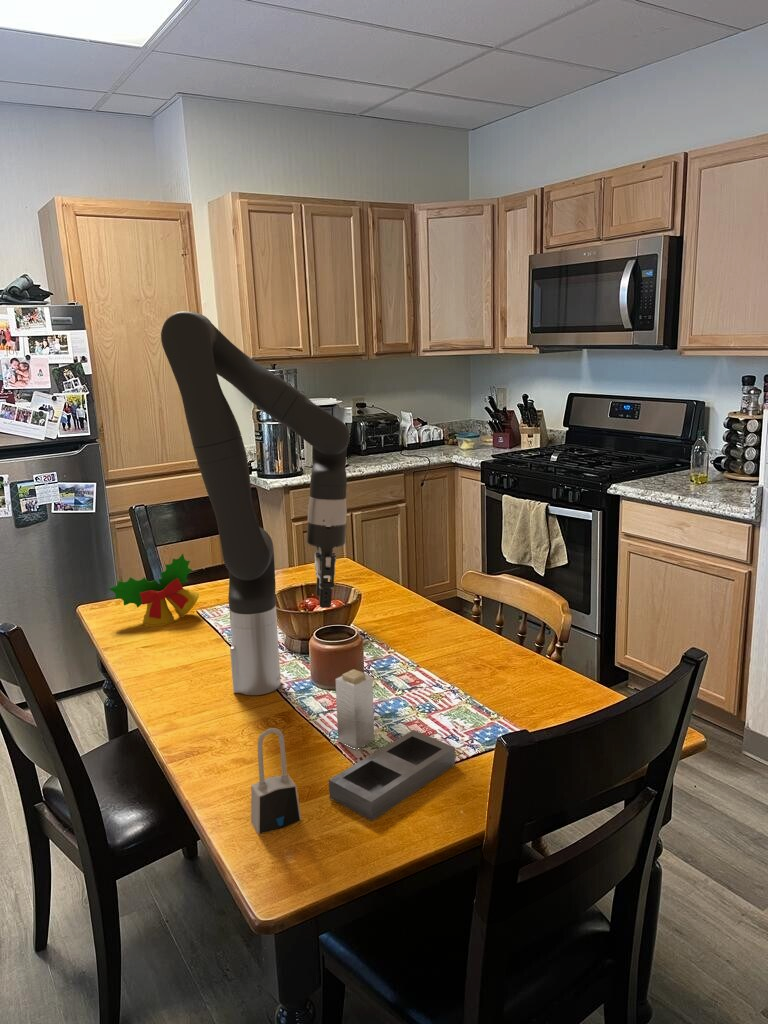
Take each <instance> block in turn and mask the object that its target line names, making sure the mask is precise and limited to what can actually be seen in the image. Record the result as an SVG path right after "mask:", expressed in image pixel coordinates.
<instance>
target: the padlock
mask: <svg viewBox="0 0 768 1024" xmlns="http://www.w3.org/2000/svg"><path fill="white" fill-rule="evenodd" d="M270 734H276V735H277V736H278V741H279V749H280V762H281V763H280V764H281V775H276V776H270V777H267V778H265V770H264V752H263V751H264V750H263V744H264V739H265V738H266V737H267V736H268V735H270ZM257 759H258V760H257V763H258V775H259V781H258V782H256V783H253V784H252V785H251V794H250V796H251V798H250V801H251V803H250V805H251V806H250V808H251V809H250V810H251V811H250V813H251V814H250V823H251V824H252V826H253V828H254V829H255V831H256V833H257V835H259V834H264V833H268V832H273V831H278V830H281V829H284V828H286V827H289V826H291V825H293V824H296V823H299V822H300V821H302V816H301V809H300V808H301V807H300V801H299V800H300V799H299V793H298V787H297V785H296V784H295V781H293V779H292V778H291V777H290V775H289V774H288V773H287V772H288V771H287V758H286V745H285V737H284V733H283V731H281V729H278V728H276V727H270V728H267V729H265V730H264V731H263V732H261V734H260V735H259V736H258V740H257Z"/></svg>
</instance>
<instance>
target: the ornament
mask: <svg viewBox="0 0 768 1024" xmlns="http://www.w3.org/2000/svg"><path fill="white" fill-rule="evenodd" d="M190 563H191V560H186V559H185V555H184V553H182V554H181V555H180V556H179V557H178V558H172V561H171V563H170V564H169V563H168V564H167V563H165V564H164V565H165V570H164V571H160V572H159V574H161V578H158V582H157V580H156V579H153V580H151V581H149V580H148V579H146V577H145V576H144V577H142V579H140V580H137V579H135V578H133V577H131V576H130V577H129V578H128V580H126V581H122V580H117V581H118V582H117V585H115V586H111V587H108V590H110V591H112V592H113V593H114V600H116V599H119V600H120V599H121V600H122V601H123V606H127V605H129V604H134V605H136V607H137V608H139V607H140V606H141V605H146V611H145V614H144V616H143V619H142V624H143V626H145V627H150V628H153V627H155V628H156V627H157V628H158V627H163V626H167V625H169V624H171V623H173V622H174V621H175V616H174V614H173V612H172V611H171V610H170V609H169V606H168V604H167V602H168V603H170V605H171V606H172V607H173V609H174V611H175V613H176V614H177V616H178V617H179V618H183V617H185V616H187V614H188V613H189V612H190V611H191V610H192V609H193V607H194V606H195V605H196V603H197V601H198V599H199V596H200V593H199V592H198V591H193V590H187V589H185V588H184V587H183V584H185V583H188V582H189V580H188V578H187V576H188V575H189V574H190V573H191V572H192V571H193V569H191V568H189V564H190Z"/></svg>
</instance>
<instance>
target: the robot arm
mask: <svg viewBox="0 0 768 1024" xmlns="http://www.w3.org/2000/svg"><path fill="white" fill-rule="evenodd" d="M160 341H161V345H162V349H163V351H164V353H165V356H166V359H167V361H168V363H169V365H170V369H171V371H172V373H173V376H174V379H175V381H176V385H177V386H178V390H179V394H180V396H181V400H182V405H183V409H184V415H185V419H186V422H187V426H188V427H187V428H188V432H189V436H190V439H191V440H190V441H191V444H192V447H193V450H194V451H193V452H194V455H195V458H196V462H197V465H198V468H199V471H200V474H201V478H202V481H203V483H204V487H205V489H206V493H207V495H208V498H209V501H210V503H211V506H212V509H213V511H214V516H215V518H216V523H217V529H218V536H219V541H220V547H221V553H222V559H223V563H224V565H225V568H226V569H227V570H228V577H229V578H228V579H229V580H228V581H229V582H228V609H229V622H230V633H231V635H230V636H231V646H230V649H229V650H230V661H231V662H230V664H231V679H232V686H233V687H232V688H233V689H232V690H233V693H234V694H235V693H237V694H242V695H244V696H245V695H247V696H259V695H261V696H262V695H266V694H270V693H272V692H274V691H276V690H277V689H279V687H280V686H281V684H282V683H281V669H280V667H281V666H280V653H279V652H280V651H279V649H280V648H279V635H278V620H277V619H278V618H277V605H276V601H277V600H276V569H275V566H276V565H275V550H274V543H273V539H272V537H271V536H270V535H269V533H268V532H267V530H266V529H264V528H262V527H261V526H259V525H260V524H259V522H258V519H257V516H256V513H255V509H254V504H253V498H252V487H251V474H250V469H249V462H248V455H247V452H246V448H245V444H244V443H245V442H244V441H243V437H242V432H241V430H240V427H239V424H238V421H237V419H236V417H235V415H234V412H233V410H232V408H231V406H230V404H229V402H228V400H227V398H226V396H225V394H224V392H223V390H222V388H221V383H220V381H219V377H221V378H223V380H225V381H227V382H228V383H229V384H231V385H232V386H233V387H234V388H236V390H238V391H239V392H240V393H241V394H242V395H243V396H244V397H246V399H247V400H249V401H250V402H251V403H253V404H254V406H256V407H257V408H258V409H260V410H261V411H262V412H264V413H265V414H267V415H268V416H269V417H270V418H272V419H273V420H275V421H276V422H278V423H280V424H281V425H283V426H284V427H286V428H287V429H290V430H292V431H293V432H294V433H296V434H297V435H298V436H299V437H300V438H302V439H303V440H304V441H305V442H306V443H308V444H309V445H311V446H312V447H311V448H312V449H311V450H312V455H311V457H312V460H311V462H312V468H311V474H310V483H309V484H310V486H309V500H308V507H307V521H306V522H307V526H306V527H307V528H306V529H307V530H306V543H307V544H308V545H310V546H313V547H316V552H314V570H315V576H316V590H315V591H316V593H315V594H316V595H317V596H318V597H319V601H318V602H319V604H318V605H319V608H323V609H330V608H331V607H332V591H333V590H332V589H334V588H335V576H336V563H337V555H336V553H335V552H334V550H333V549H334V548H341V547H343V546H344V545H346V534H347V514H348V513H347V511H348V510H347V487H348V485H347V484H348V483H347V482H348V479H347V478H348V476H347V469H346V468H347V467H346V464H347V454H348V453H347V450H348V445H349V444H350V438H351V437H350V430H349V428H348V427H347V426H348V425H346V423H345V422H343V421H342V420H341V419H339V418H337V417H335V416H334V415H332V414H331V412H330V413H329V412H328V411H326V410H325V409H324V408H323V407H322V408H321V407H320V406H319V405H317V404H316V403H314V402H313V401H312V400H311V399H310V398H309V397H307V396H306V395H305V394H304V393H302V392H301V391H300V390H299V389H297V388H296V387H294V386H293V385H291V384H290V383H288V382H287V381H285V380H284V379H282V378H281V377H280V376H278V375H276V374H275V373H274V372H272V371H270V370H269V369H267V368H266V367H265V366H263V365H261V364H260V363H259V362H257V361H256V360H254V359H253V358H251V357H250V356H249V355H247V354H246V353H244V352H243V351H242V350H241V349H240V348H238V347H237V346H236V345H235V344H234V343H232V342H231V341H230V340H229V338H227V336H225V335H224V334H223V333H222V332H221V330H219V329H218V328H217V327H216V326H215V325H214V324H213V322H211V320H209V318H208V317H207V316H205V315H203V314H201V313H198V312H196V311H195V312H194V311H177V312H175V313H172V314H171V315H170V316H168V318H166V320H165V321H164V323H163V325H162V328H161V333H160Z"/></svg>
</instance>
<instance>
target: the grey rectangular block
mask: <svg viewBox="0 0 768 1024" xmlns="http://www.w3.org/2000/svg"><path fill="white" fill-rule="evenodd" d="M334 680H335V698H336V700H335V701H336V719H337V720H336V721H337V723H336V724H337V742H338V741H339V742H341V743H343V744H346V745H348V746H350V747H352V748H355V749H358V748H360V747H362V746H364V745H366V746H367V744H368V743H369V744H371V743H373V742H375V719H374V716H375V715H374V692H373V691H374V689H373V687H374V685H373V684H374V683H373V676H370V675H367V674H366V673H365V672H362V671H361V670H357V669H355V668H353V669H350V670H348V671H347V672H344V673H342V675H340V676H338V677H336V678H335V679H334ZM372 741H373V742H372ZM339 742H338V743H339ZM370 742H371V743H370ZM341 743H340V744H341ZM343 744H342V745H343ZM369 744H368V745H369ZM350 747H349V748H350ZM364 747H365V746H364ZM352 748H351V749H352ZM362 748H363V747H362Z"/></svg>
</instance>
